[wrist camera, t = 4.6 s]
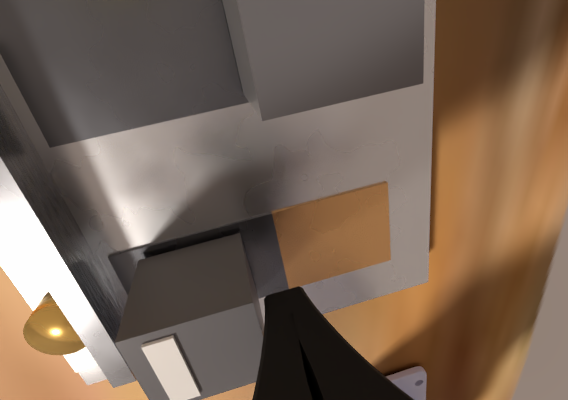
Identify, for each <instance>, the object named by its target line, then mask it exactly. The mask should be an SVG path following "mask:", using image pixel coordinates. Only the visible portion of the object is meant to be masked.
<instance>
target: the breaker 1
mask: <svg viewBox="0 0 568 400" xmlns="http://www.w3.org/2000/svg"><path fill="white" fill-rule="evenodd" d="M263 336H264V322H263V317H262V312H261V308H260V303H259V298H258V294H257V291H256V287H255V284H254V280H253V277H252V273H251V270H250V266H249V263H248V259H247V256H246V252H245V249H244V245H243V242H242V238H241V235H240V233H237V234H234V235H230V236H226V237H223V238H219V239H215V240H211V241H208V242H204V243H200V244H197V245H193V246H189V247H185V248H182V249H178V250H174V251H171V252H167V253H163V254H159V255H156V256H152V257H148V258H144V259H141V260H138V263H137V267H136V270H135V274H134V277H133V281H132V284H131V288H130V291H129V295H128V298H127V302H126V305H125V309H124V312H123V316H122V319H121V323H120V326H119V330H118V333H117V337H116V340H115V344H116V346H117V348H118V349H119V351H120V353H121V354H122V356H123V357H124V359H125V361H126V362H127V364H128V366H129V367H130V369H131V371H132V372H133V374H134V376H135V377H136V379H137V381H138V382H139V384H140V386H141V387H142V389H143V391H144V392H145V394H146V395H147V397H148V399H149V400H201V399H204V398H207V397H210V396H213V395H216V394H220V393H223V392H226V391H229V390H232V389H235V388H238V387H242V386H245V385H248V384H251V383H254V382H256V380H257V375H258V370H259V365H260V359H261V351H262V344H263Z"/></svg>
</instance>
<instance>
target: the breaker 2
mask: <svg viewBox="0 0 568 400" xmlns="http://www.w3.org/2000/svg"><path fill="white" fill-rule="evenodd" d="M222 1H223V5H224V10H225V14H226V19H227V23H228V27H229V32H230V36H231V40H232V45H233V49H234V54H235V58H236V62H237V67H238V71H239V76H240V80H241V84H242V89H243V93H244V95H245V97H246V98H247V100H248V101H249V103H250V104H251V106H252V107H253V108H254V110H255V111H256V113H257V114H258V116H259V117H260V119H261V120H262V121H266V120H270V119H274V118H278V117H283V116H287V115H291V114H295V113H300V112H304V111H308V110H312V109H317V108H321V107H325V106H330V105H334V104H338V103H342V102H347V101H351V100H355V99H359V98H364V97H368V96H372V95H376V94H381V93H385V92H389V91H393V90H398V89H402V88H406V87H411V86H415V85H419V84H423V75H424V4H425V0H222Z"/></svg>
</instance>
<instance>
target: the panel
mask: <svg viewBox="0 0 568 400" xmlns="http://www.w3.org/2000/svg"><path fill="white" fill-rule="evenodd" d="M435 19H436V0H425V4H424V75H423V84H419V85H415V86H411V87H406V88H402V89H398V90H393V91H389V92H385V93H381V94H376V95H372V96H368V97H364V98H359V99H355V100H351V101H347V102H342V103H338V104H334V105H330V106H325V107H321V108H317V109H312V110H308V111H304V112H300V113H295V114H291V115H287V116H283V117H278V118H274V119H270V120H266V121H262V120H261V119H260V117H259V116H258V114H257V113H256V111H255V110H254V108H253V107H252V106H251V104H250V103H249V101H248V100H247V98H246V97H245V95H244V93H243V89H242V84H241V80H240V76H239V71H238V67H237V62H236V58H235V54H234V49H233V45H232V40H231V36H230V32H229V27H228V23H227V19H226V14H225V10H224V5H223V1H222V0H0V265H1V266H2V268H3V269H4V270H5V272H6V273H7V275H8V276H9V277H10V279H11V280H12V282H13V283H14V284H15V286H16V287H17V288H18V290H19V291H20V293H21V294H22V295H23V297H24V298H25V300H26V301H27V302H28V304H29V305H30V306H31V308H32V309H33V312H32V314H31V316H30V317H29V319H28V321H27V322H26V324H25V326H24V330H23V334H24V338H25V340H26V341H27V343H28V344H29V345H30V346H31V347H33V348H34V349H36V350H38V351H40V352H43V353H46V354H51V355H63V356H64V357H65V358H66V360H67V361H68V363H69V364H70V365H71V367H72V368H73V369H74V371H75V372H78V373H79V374H80V376H81V377H82V378H83V380H84V381H85V383H86V384H87V385H90V384H93V383H96V382H100V381H103V380H106V379H108V381H109V382H110V384H111V385H112V387H113V388H115V387H118V386H121V385H124V384H128V383H131V382H134V381H136V380H137V379H136V377H135V376H134V374H133V372H132V371H131V369H130V367H129V366H128V364H127V362H126V361H125V359H124V357H123V356H122V354H121V353H120V351H119V349H118V348H117V346H116V344H115V340H116V337H117V333H118V330H119V326H120V323H121V319H122V316H123V312H124V309H125V305H126V302H127V298H128V295H129V291H130V288H131V284H132V281H133V277H134V274H135V270H136V267H137V263H138V260H141V259H144V258H148V257H152V256H156V255H159V254H163V253H167V252H171V251H174V250H178V249H182V248H185V247H189V246H193V245H197V244H200V243H204V242H208V241H211V240H215V239H219V238H223V237H226V236H230V235H234V234H237V233H240V235H241V238H242V242H243V245H244V249H245V252H246V256H247V259H248V263H249V266H250V270H251V273H252V277H253V280H254V284H255V287H256V291H257V294H258V298H259V303H260V308H261V312H262V317H263V322H264V323H265V305H264V298H265V297H266V296H267V295H270V294H273V293H277V292H280V291H284V290H287V289H291V288H294V287H298V286H300V287H302V288H303V289H304V291H305V292H306V294H307V295H308V297H309V298H310V300H311V301H312V302H313V304H314V305H315V306H316V308H317V309H318V310H319V311H320V313H321V314H324V313H327V312H331V311H334V310H337V309H341V308H344V307H347V306H350V305H354V304H357V303H360V302H364V301H367V300H370V299H374V298H377V297H380V296H383V295H387V294H390V293H393V292H397V291H400V290H403V289H407V288H410V287H413V286H416V285H420V284H423V283H426V282H428V270H429V234H430V198H431V162H432V126H433V91H434V55H435Z"/></svg>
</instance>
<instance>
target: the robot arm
mask: <svg viewBox="0 0 568 400" xmlns="http://www.w3.org/2000/svg"><path fill="white" fill-rule="evenodd" d="M264 305H265V323H264V336H263V344H262V351H261V359H260V365H259V370H258V375H257V380H256V386H255V391H254V395H253V399H252V400H426V381H427V374H426V371H425V370H424V368H423V367H421V366H416V367H413V368H410V369H407V370H404V371H401V372H398V373H395V374H392V375H389V376H386V377H385V376H384V375H383V374H381V373H380V372H379V371H378V370H377V369H376V368H375V367H373V366H372V365H371V364H370V363H369V362H368V361H367V360H366V359H365V358H363V357H362V356H361V355H360V354H359V353H358V352H357V351H356V350H355V349H354V348H353V347H352V346H351V345H350V344H349V343H348V342H347V341H346V340H345V339H344V338H343V337H342V336H341V335H340V334H339V333H338V332H337V331H336V329H335V328H334V327H333V326H332V325H331V324H330V323H329V322H328V321H327V320H326V318H325V317H324V316H323V315H322V314H321V313H320V311H319V310H318V309H317V308H316V306H315V305H314V304H313V302H312V301H311V300H310V298H309V297H308V295H307V294H306V292H305V291H304V289H303V288H302V287H300V286H298V287H294V288H291V289H287V290H284V291H280V292H277V293H273V294H270V295H267V296H266V297H265V298H264Z"/></svg>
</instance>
